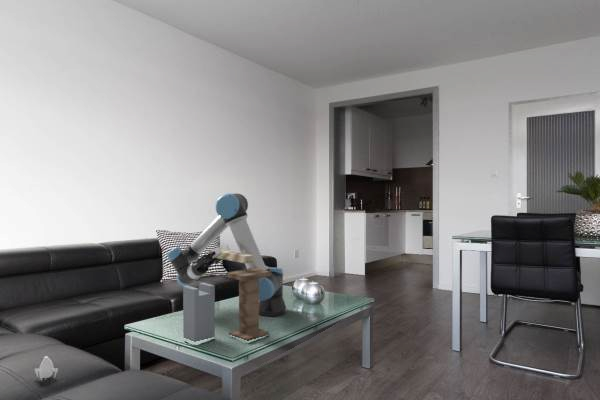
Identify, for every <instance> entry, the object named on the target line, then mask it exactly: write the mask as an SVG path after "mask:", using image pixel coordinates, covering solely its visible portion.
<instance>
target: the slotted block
mask: <svg viewBox="0 0 600 400" xmlns="http://www.w3.org/2000/svg"><path fill="white" fill-rule="evenodd" d="M215 288H216V286H215V285H214V284H210V283H206V282H200V283H198V288H196V287H195V286H191V285H188V286H182V291H183V293H182V296H183V298H182V299H183V300H182V302H183V303H182V306H183V307H182V309H183V310H182V311H183V315H182V316H183V318H182V319H183V320H182V321H183V322H182V323H183V326H182V327H183V328H182V329H183V331H182V333H183V338H186V339H189V340H191V341H194V342H196V341H200V340H204V339H208V338H212V337H215V338H216V333H215V332H216V331H215V329H216V327H215V326H216V325H215V324H216V322H215V321H216V317H215V315H216V307H215V305H216V304H215V303H216V301H215V300H216V297H215V296H216V295H215V294H216V292H215V291H216V289H215Z"/></svg>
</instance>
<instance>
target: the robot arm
mask: <svg viewBox="0 0 600 400" xmlns="http://www.w3.org/2000/svg"><path fill="white" fill-rule="evenodd" d="M248 201H249V200H248V199H247V198H246V197H245V195H243V194H241V193H225V194H222V195H221V196H220V197H218V199H217V200H216V203H215V212H216V213H217V215H218V216H217V217H216V218H215V219H213V221H212V222H211V223H210V224H209V225H208V226H207V227H206V228H204V230H203V231H202V232H201V233H200V234H199V235H198V236H197V237H196V238H195V239H194V240H193V241H192V242H191V243H190V244H189V245H188V246H187V247H186V248H184V249H182V248H181V247H180V246H175V247H174V248H171V250H169V251H168V252H166V257H167V259H168V261H169V262H170V264H171V265H172V268H174V270H175V272H176V274H177V276H176V282H177V283H178V284H179V285H180V286H182V287H184V286H191V284H193V283H194V282H195V281H196V280H199V278H200V277H202V276H204V275H205V274H206V273H208V271H209V270H210V267H211V266H212V265H218V264H219V263H220V262H221V261H222V260H223V259H219V258H215V257H216V256H217V255H219V254H220V253H221V250H223V251H229V252H231V250H230V248H229V245H226V246H225V247H223V248H222V249H221V247H220V246H218V247H216V248H215V249H213V250H214V251H213V252H211V253H209V252H208V253H207V254H205V253H204V255H202V256H201V254H202V253H203V252H204V251H206V249H207V248H208V247H209V246H210V245H211V244H212V243H213V242H214V241H216V239H217V238H218V237H219V236H221V234H223V233H224V231H225V230H226V229H228V227H229V229H230V231H231V233H232V236H233V238H234V240H235V243H236V245H237V248H238V250H239V253H242V254H248V255H253V262H251V263H244V264H245V266H246V269H249V268H255V269H260V270H265V271H270V276H269V277H264V278H259V316H263V317H278V316H279V317H280V316H282V315H285V314H286V313H287V305H286V303H285V300H284V299H285V298H284V297H283V296H284V291H283V290H284V287H283V285H284V283H283V282H284V280H283V279H284V278H283V277H284V270H283V269H282V268H281V267H270V266H267V265H266V264H265V261H264V260H263V257H262V255H261V253H260V250H259V247H258V245H257V243H256V240H255V237H254V235H253V232H252V230H251V228H250V226H249V224H248V221H247V218H248V212H247V211H248V208H249V202H248ZM200 256H201V257H200Z"/></svg>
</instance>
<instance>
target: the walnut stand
mask: <svg viewBox="0 0 600 400" xmlns="http://www.w3.org/2000/svg"><path fill="white" fill-rule="evenodd" d="M269 276H270V271H265V270H260V269H255V268H249V269H247V268H244V269H239V270H234V271H229V272H226V278H230V279H234V280H238V329H234V330H232V331H230V332H228V336H229V335H232V336H235V337H238V338H241V339H244V340H247V341H249V340H252V339H256V338H259V337H263V336H266V335H269V336H270V332H269V331H267V330H264V329H261V328H260V315H259V278H264V277H269Z"/></svg>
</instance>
